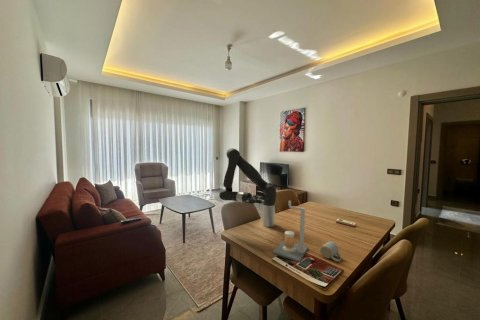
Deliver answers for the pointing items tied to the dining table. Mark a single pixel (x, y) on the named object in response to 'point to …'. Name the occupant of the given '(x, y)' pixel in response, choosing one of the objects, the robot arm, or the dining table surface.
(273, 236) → the dining table surface
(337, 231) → the dining table surface
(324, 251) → the ceramic mug
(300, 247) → the stand
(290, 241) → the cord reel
